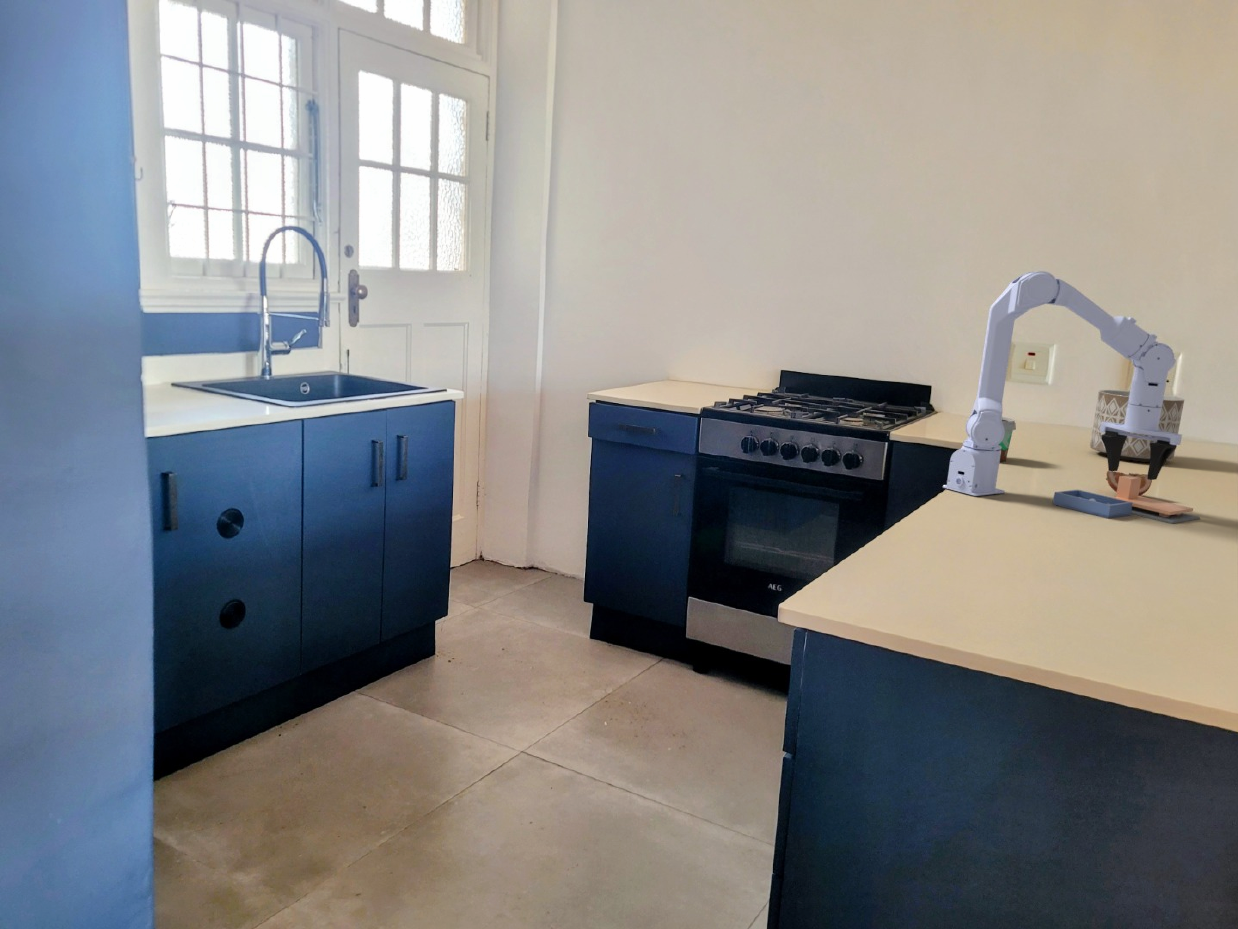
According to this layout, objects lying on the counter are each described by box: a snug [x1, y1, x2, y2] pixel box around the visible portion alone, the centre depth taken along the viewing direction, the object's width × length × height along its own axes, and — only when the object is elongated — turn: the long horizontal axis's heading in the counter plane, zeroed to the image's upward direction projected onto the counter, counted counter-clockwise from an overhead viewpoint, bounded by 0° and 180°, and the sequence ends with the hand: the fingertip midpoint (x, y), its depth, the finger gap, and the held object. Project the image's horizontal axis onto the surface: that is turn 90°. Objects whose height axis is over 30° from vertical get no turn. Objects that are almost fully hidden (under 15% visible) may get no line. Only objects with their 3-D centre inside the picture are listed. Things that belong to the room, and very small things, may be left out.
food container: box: [998, 416, 1017, 463], centre depth 227 cm, size 12×6×10 cm, turn 168°
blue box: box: [1052, 489, 1133, 519], centre depth 178 cm, size 8×11×2 cm
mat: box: [1131, 506, 1201, 525], centre depth 179 cm, size 10×13×1 cm
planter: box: [1089, 389, 1185, 463], centre depth 242 cm, size 19×19×16 cm
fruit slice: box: [1105, 471, 1153, 496], centre depth 193 cm, size 8×7×5 cm
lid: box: [1110, 475, 1194, 517], centre depth 178 cm, size 8×12×6 cm
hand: (1132, 475), depth 181 cm, fingers open, 7 cm apart
